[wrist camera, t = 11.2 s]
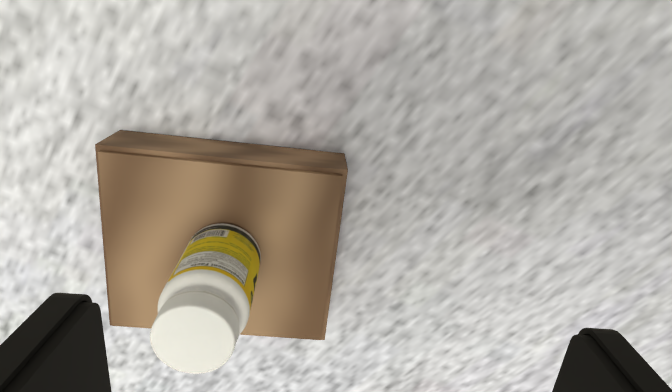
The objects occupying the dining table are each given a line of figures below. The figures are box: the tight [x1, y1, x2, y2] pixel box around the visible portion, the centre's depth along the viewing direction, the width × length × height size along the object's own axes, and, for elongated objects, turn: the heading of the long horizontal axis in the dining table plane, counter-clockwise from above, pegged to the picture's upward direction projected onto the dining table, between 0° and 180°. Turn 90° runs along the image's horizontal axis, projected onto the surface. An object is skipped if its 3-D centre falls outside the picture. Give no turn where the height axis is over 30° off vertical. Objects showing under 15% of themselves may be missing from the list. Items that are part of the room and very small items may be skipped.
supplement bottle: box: [150, 223, 261, 374], centre depth 25 cm, size 5×5×8 cm
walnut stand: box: [95, 130, 348, 340], centre depth 31 cm, size 15×13×4 cm
